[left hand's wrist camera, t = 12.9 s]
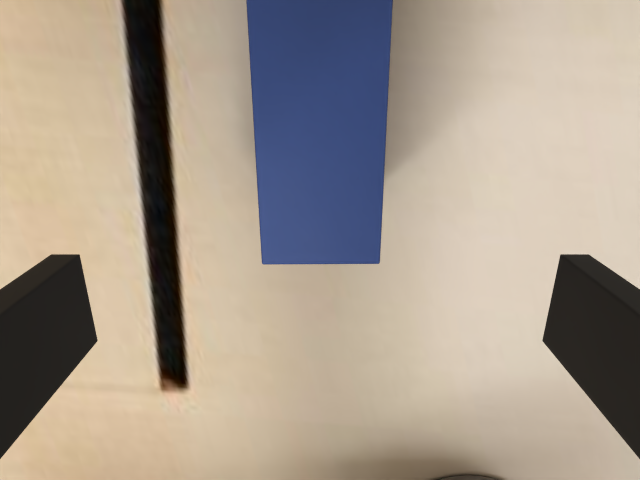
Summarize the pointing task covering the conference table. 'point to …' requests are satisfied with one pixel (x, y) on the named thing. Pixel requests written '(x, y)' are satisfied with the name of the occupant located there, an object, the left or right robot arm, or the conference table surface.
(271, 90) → the box
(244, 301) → the conference table surface
